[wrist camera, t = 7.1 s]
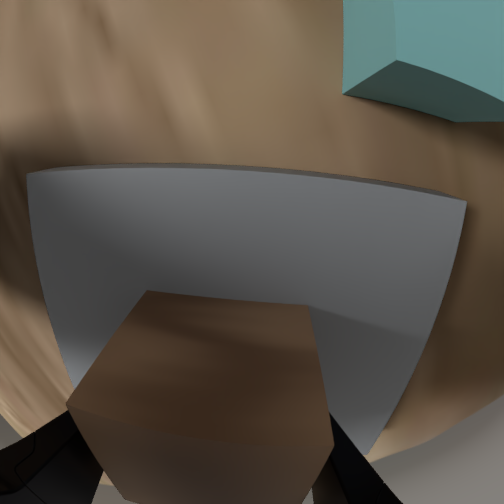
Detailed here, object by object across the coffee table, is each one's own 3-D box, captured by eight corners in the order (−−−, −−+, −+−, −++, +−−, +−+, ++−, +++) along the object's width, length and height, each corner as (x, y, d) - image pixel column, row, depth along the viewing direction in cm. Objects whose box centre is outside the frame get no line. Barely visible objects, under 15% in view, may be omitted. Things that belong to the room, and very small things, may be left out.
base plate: (102, 402, 15) (90, 424, 13) (55, 167, 11) (26, 173, 9) (360, 429, 15) (367, 454, 13) (439, 191, 10) (466, 201, 8)
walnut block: (162, 397, 12) (124, 499, 7) (146, 290, 10) (65, 403, 5) (286, 411, 12) (288, 523, 7) (307, 304, 10) (334, 445, 5)
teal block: (341, 94, 9) (396, 59, 5) (341, -14, 8) (378, -85, 3) (454, 122, 9) (540, 123, 4) (449, 20, 7) (518, -15, 3)
